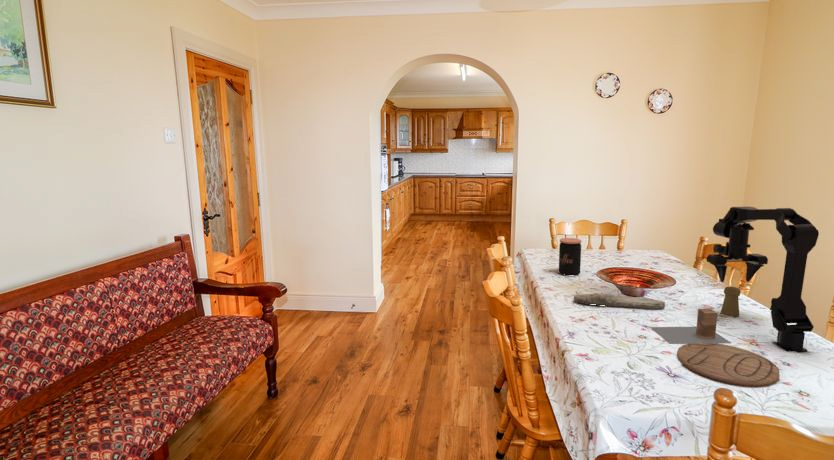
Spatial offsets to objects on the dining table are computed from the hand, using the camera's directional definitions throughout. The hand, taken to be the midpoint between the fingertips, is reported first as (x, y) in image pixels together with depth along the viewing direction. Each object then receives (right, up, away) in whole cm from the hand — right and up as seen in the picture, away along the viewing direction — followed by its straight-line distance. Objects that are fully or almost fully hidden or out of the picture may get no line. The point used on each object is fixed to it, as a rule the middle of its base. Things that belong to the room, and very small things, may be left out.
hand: (734, 281), depth 165 cm
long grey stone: (-35, -12, +19) cm, 42 cm away
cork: (+2, -14, +5) cm, 15 cm away
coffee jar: (-39, -4, +66) cm, 77 cm away
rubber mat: (-25, -17, -13) cm, 33 cm away
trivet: (-27, -22, -33) cm, 48 cm away
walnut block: (-20, -17, -14) cm, 29 cm away
